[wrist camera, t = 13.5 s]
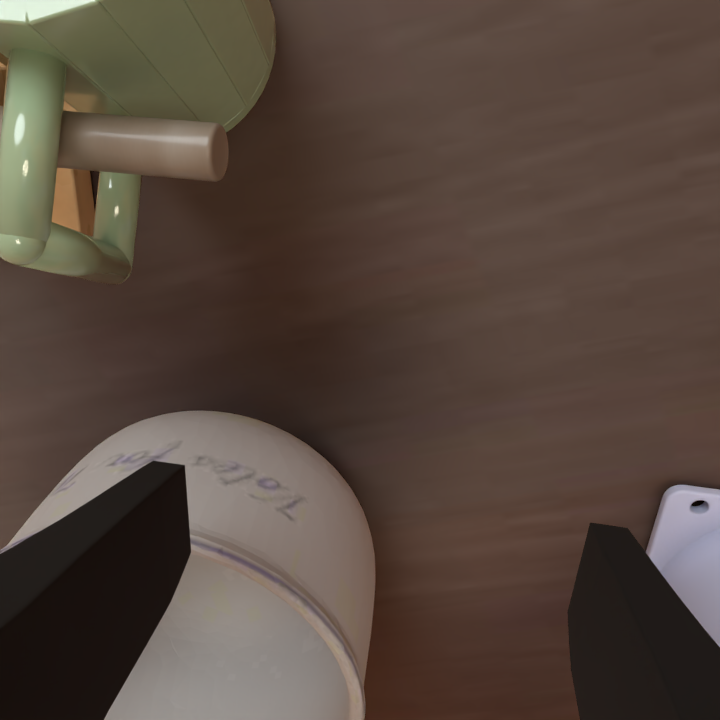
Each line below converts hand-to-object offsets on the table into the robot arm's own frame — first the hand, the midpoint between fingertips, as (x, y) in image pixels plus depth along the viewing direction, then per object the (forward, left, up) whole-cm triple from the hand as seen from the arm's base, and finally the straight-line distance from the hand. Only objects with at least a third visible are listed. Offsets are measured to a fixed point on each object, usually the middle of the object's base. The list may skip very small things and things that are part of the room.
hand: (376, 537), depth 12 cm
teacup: (+7, +8, -10) cm, 14 cm away
